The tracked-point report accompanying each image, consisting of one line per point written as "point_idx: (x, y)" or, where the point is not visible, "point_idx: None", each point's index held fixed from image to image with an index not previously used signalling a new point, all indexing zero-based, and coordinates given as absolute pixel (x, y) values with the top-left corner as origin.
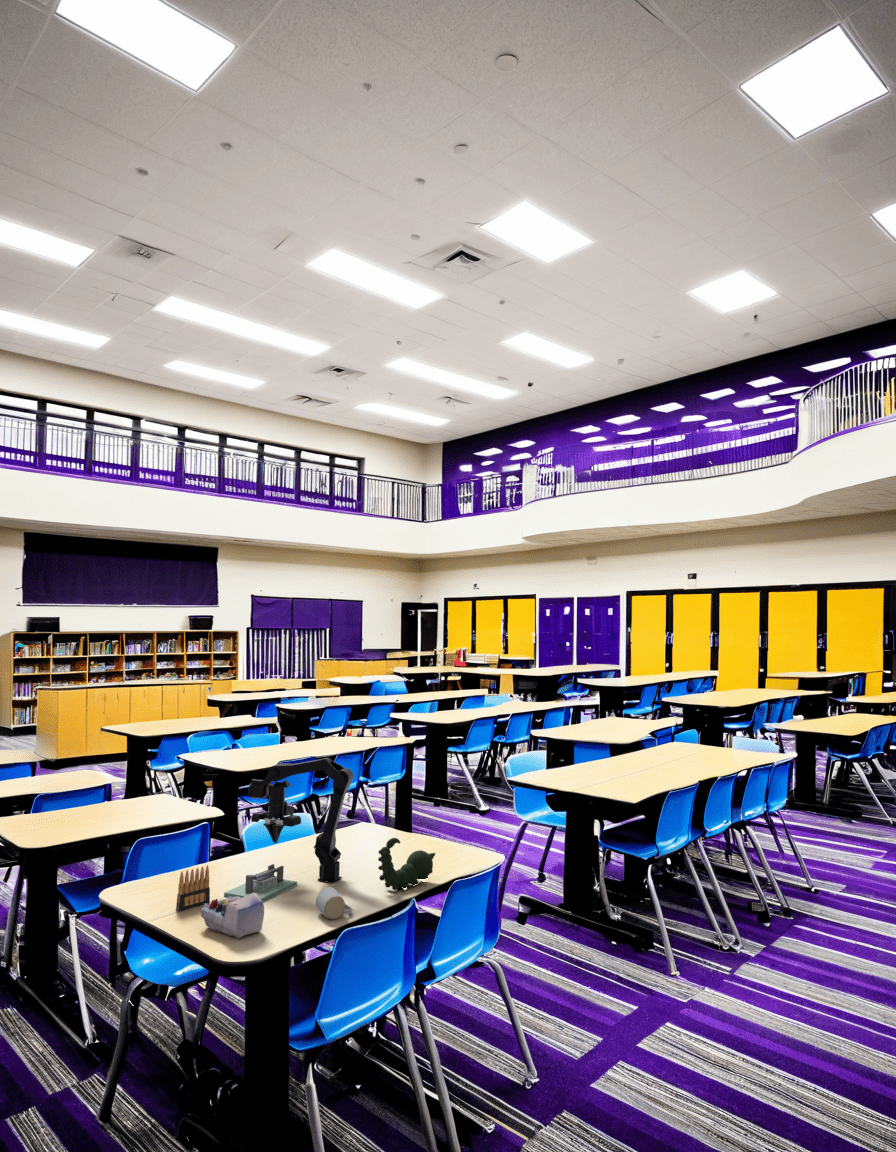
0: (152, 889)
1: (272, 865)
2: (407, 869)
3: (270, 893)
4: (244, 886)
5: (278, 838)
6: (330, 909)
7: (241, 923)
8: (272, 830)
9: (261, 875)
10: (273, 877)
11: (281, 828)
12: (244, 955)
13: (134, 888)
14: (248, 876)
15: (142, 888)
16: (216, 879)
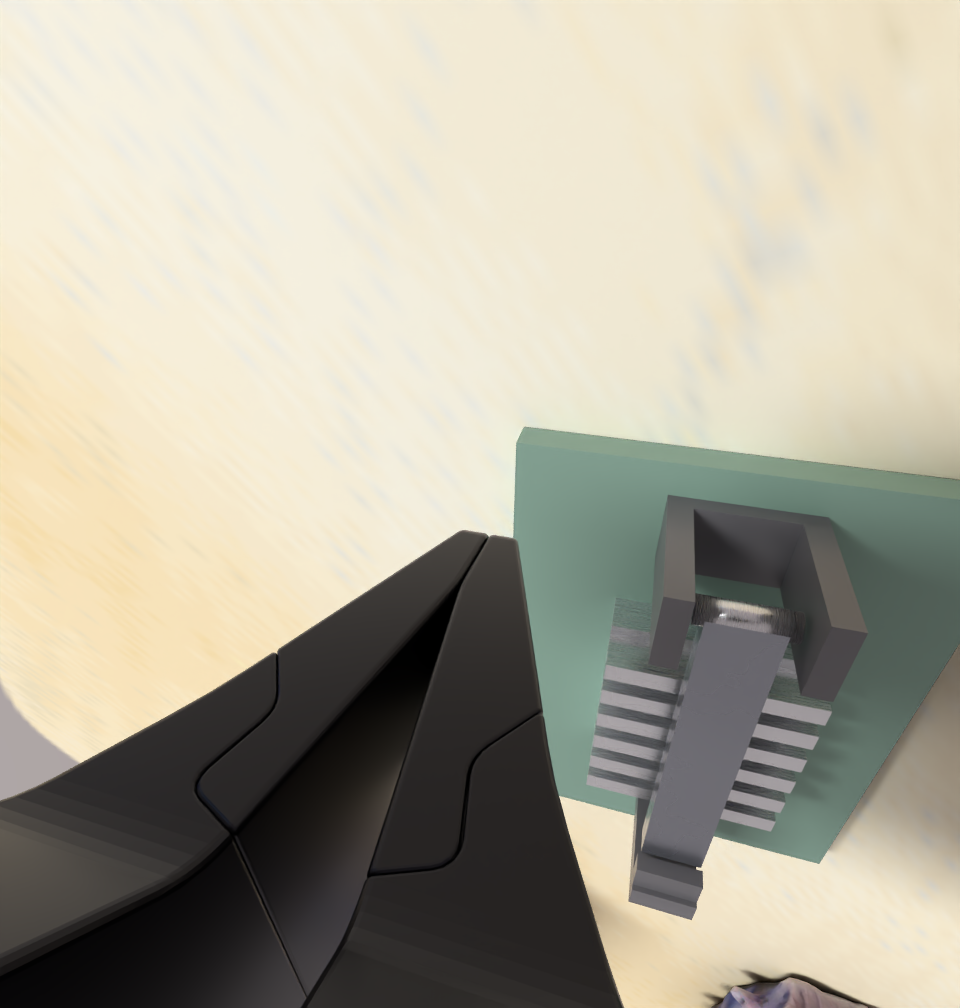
0: (129, 708)
1: (687, 629)
2: None
3: (852, 790)
4: (552, 693)
5: (525, 599)
6: None
7: None
8: (327, 942)
9: (717, 820)
10: (812, 741)
11: (572, 998)
12: None
13: (65, 705)
14: (657, 906)
15: (87, 702)
16: (213, 527)
